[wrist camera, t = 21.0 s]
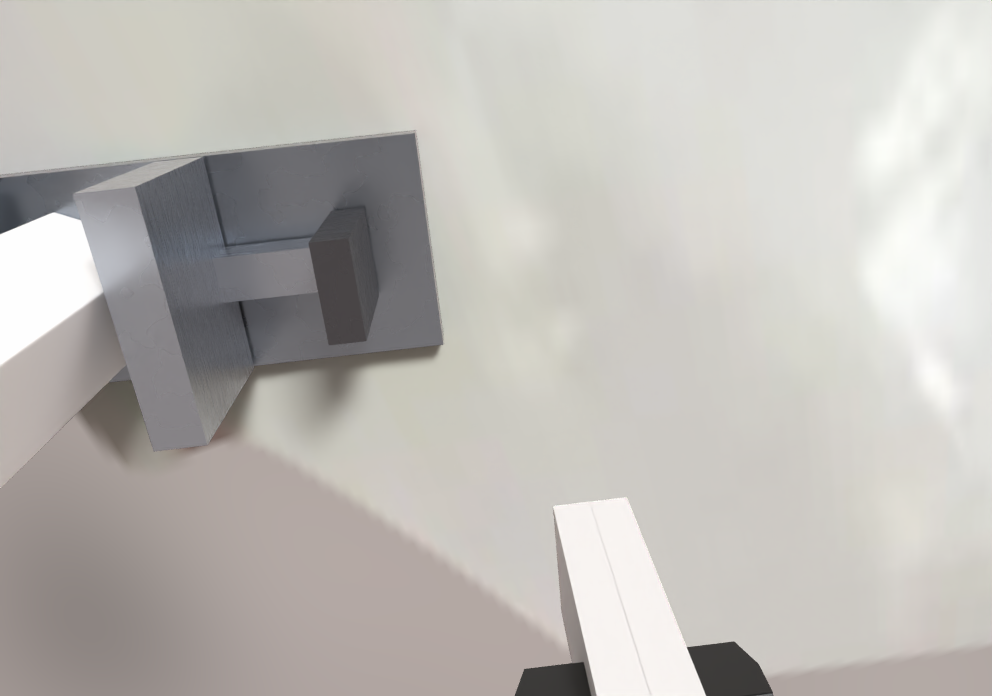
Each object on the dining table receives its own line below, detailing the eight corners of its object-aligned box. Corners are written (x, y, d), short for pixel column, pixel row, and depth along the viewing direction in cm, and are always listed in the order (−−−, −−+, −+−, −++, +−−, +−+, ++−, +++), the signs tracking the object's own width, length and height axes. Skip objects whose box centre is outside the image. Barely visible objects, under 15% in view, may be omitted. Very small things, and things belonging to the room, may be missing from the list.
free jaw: (142, 163, 38) (57, 195, 30) (353, 140, 38) (327, 166, 30) (200, 373, 43) (141, 452, 34) (388, 352, 43) (374, 425, 35)
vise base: (-49, 180, 40) (-210, 223, 30) (415, 130, 40) (405, 156, 30) (27, 382, 44) (-92, 476, 34) (443, 335, 45) (442, 415, 35)
